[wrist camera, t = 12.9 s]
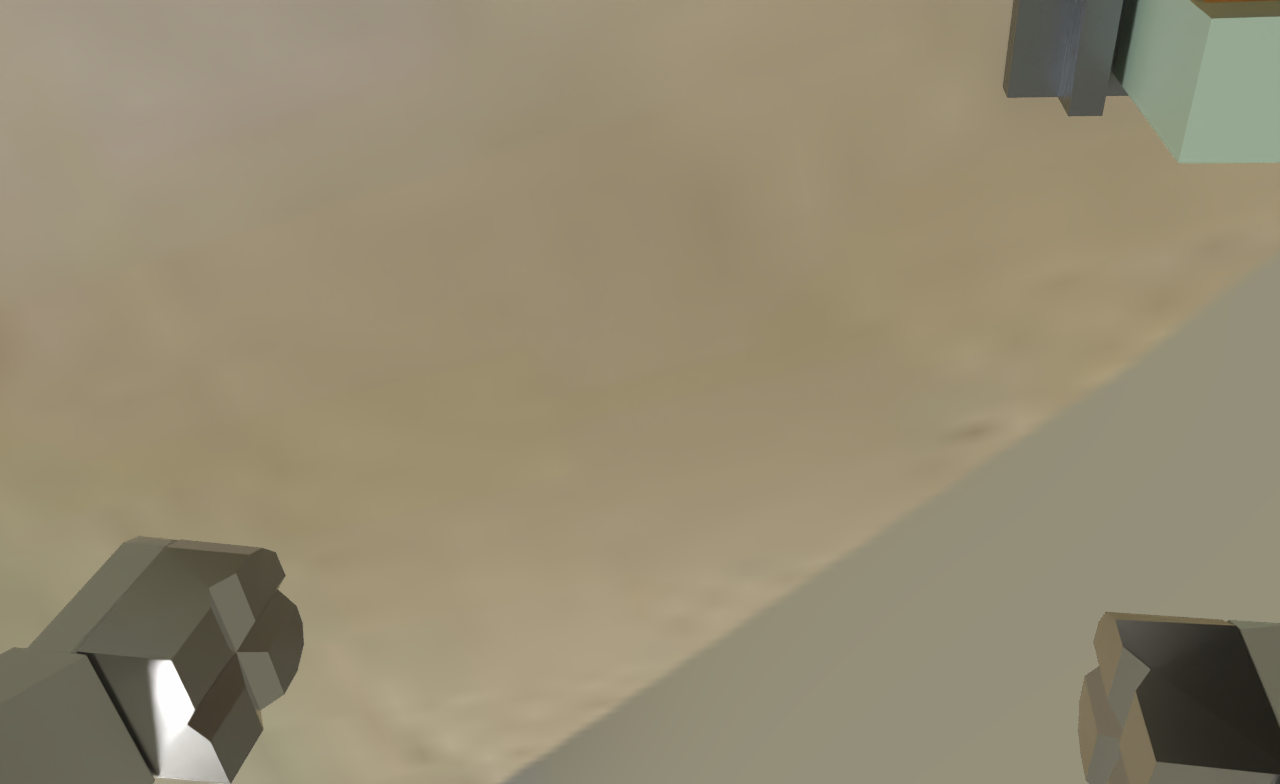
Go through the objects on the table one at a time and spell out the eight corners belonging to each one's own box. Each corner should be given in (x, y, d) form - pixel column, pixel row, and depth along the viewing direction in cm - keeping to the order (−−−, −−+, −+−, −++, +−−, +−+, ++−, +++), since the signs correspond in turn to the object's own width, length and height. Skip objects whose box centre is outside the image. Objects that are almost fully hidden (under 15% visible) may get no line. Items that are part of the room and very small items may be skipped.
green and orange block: (1234, 71, 32) (1333, 161, 25) (1113, 74, 32) (1178, 163, 26) (1270, -69, 29) (1388, -10, 23) (1138, -63, 30) (1216, -4, 23)
